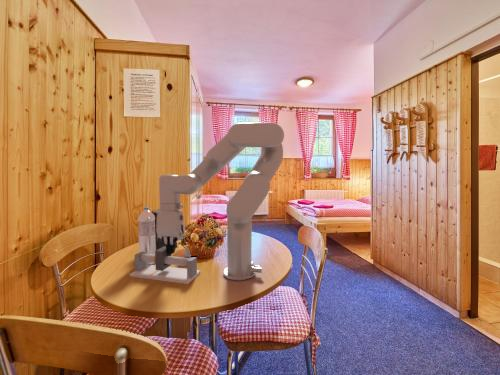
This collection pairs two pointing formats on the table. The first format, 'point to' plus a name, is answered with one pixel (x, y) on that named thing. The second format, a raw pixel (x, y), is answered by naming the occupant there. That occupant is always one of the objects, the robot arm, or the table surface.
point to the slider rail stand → (169, 273)
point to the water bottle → (147, 233)
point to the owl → (159, 241)
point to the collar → (161, 259)
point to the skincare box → (187, 251)
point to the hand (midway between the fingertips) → (170, 253)
